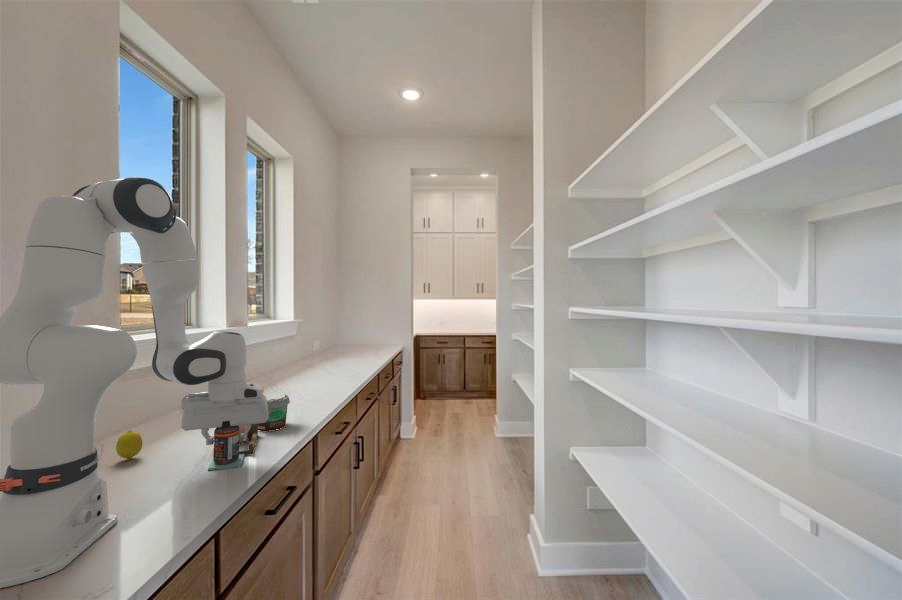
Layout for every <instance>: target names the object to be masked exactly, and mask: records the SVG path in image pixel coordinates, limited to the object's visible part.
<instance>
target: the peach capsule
mask: <svg viewBox="0 0 902 600" xmlns="http://www.w3.org/2000/svg"><path fill="white" fill-rule="evenodd" d="M238 426H239V444H241V445H243V444H242V443H245V444H246V442H247V441H248V442H249V438H248V433H247V439H246V441H240V434H241V433H244V432H245V430H246V429H247V428H246V429H245V425H238ZM248 442H247V443H248Z"/></svg>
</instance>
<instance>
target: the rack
mask: <svg viewBox="0 0 902 600" xmlns="http://www.w3.org/2000/svg"><path fill="white" fill-rule="evenodd" d="M258 436H259V431H258V424H251V428H250V430H249V431H248V439H251V440H250V442H249V443H248V449H244V450H239V454H244V456H252V454H253V455H254V452H255V449H254V448H256V445H255V444H257V441H258ZM249 437H252V438H249ZM256 440H257V441H256ZM212 452H213V453H212V459H213V458H214V450H213V451H212Z"/></svg>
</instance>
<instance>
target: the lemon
mask: <svg viewBox="0 0 902 600" xmlns="http://www.w3.org/2000/svg"><path fill="white" fill-rule="evenodd" d="M142 448H143V438H142V435H141V434H140V433H139V432H137V431H133V430H130V429H129V430H127V431H126V432H124V433H122V434H121V435H120V436H119V437H118V439H117V441H116V445H115V449H116V453H117V455H118V456H119V457H120V458H122V459H126V460H131V459H133V457H135V456H137V455H138V454H139V453H140V452H141V450H142Z"/></svg>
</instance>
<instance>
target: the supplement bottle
mask: <svg viewBox="0 0 902 600" xmlns="http://www.w3.org/2000/svg"><path fill="white" fill-rule="evenodd" d="M230 425H231V424H230V421H222V427H218V428H214V431H213V434H214V435H213V436H214V439H213V440H214V443H213V451H214V463H216V464H221V465H223V464H229V463H232V462H234V461H236V460H237V459H238V458H239V451H240V445H239V426H230Z"/></svg>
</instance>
